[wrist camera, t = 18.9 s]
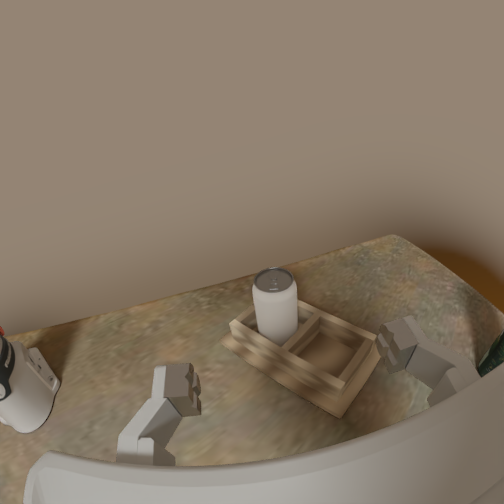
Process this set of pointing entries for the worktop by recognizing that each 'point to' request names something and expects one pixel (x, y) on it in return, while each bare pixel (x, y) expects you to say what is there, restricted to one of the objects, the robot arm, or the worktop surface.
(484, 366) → the coffee jar
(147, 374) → the worktop surface
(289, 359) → the can holder
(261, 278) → the can
